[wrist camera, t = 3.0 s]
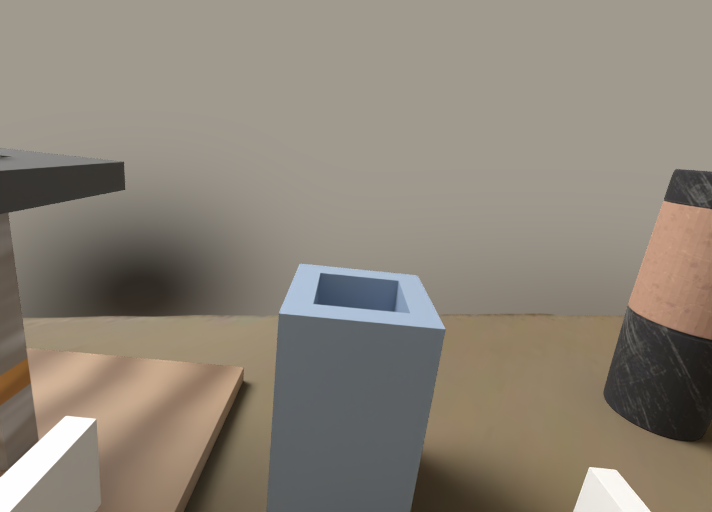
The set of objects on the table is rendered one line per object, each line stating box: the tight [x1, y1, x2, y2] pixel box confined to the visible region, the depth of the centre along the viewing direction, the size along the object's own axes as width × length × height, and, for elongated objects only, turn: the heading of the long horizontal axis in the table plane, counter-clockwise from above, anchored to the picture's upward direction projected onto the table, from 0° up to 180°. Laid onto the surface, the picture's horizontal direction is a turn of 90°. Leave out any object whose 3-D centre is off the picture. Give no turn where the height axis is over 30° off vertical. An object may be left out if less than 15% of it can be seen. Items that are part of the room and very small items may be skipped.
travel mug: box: [604, 169, 712, 441], centre depth 31 cm, size 8×8×20 cm
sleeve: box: [267, 264, 446, 512], centre depth 21 cm, size 7×7×12 cm
